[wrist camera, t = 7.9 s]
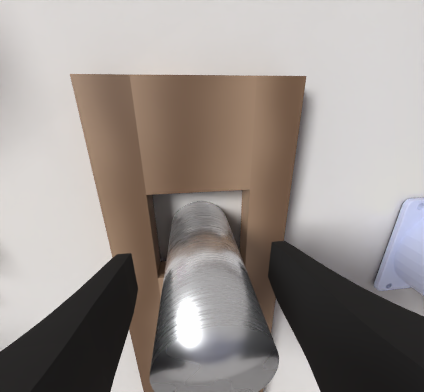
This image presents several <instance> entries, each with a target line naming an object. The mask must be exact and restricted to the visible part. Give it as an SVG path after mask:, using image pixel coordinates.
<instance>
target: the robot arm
mask: <svg viewBox="0 0 424 392" xmlns="http://www.w3.org/2000/svg"><path fill="white" fill-rule="evenodd" d="M268 278H269V281H270V284H271V287H272V289H273V292H274V294H275V297H276V299H277V301H278V303H279V305H280V307H281V309H282V311H283V313H284V315H285V317H286V319H287V321H288V323H289V325H290V326H291V328H292V330H293V332H294V334H295V336H296V338H297V340H298V342H299V344H300V346H301V348H302V350H303V352H304V354H305V356H306V358H307V360H308V362H309V365H310V367H311V370H312V372H313V374H314V377H315V379H316V382H317V384H318V386H319V389H320V391H321V392H424V317H423V316H421V315H419V314H417V313H414V312H412V311H410V310H407V309H405V308H403V307H401V306H399V305H396V304H394V303H392V302H390V301H388V300H386V299H384V298H382V297H380V296H378V295H376V294H374V293H372V292H370V291H368V290H366V289H364V288H362V287H360V286H358V285H356V284H355V283H353V282H351V281H349V280H348V279H346V278H344V277H342V276H341V275H339V274H337V273H335V272H334V271H332V270H330V269H329V268H327V267H325V266H324V265H322V264H321V263H319V262H317V261H316V260H314V259H313V258H311V257H310V256H308V255H306V254H305V253H303V252H302V251H300V250H299V249H297V248H295V247H294V246H292V245H291V244H289V243H287V242H285V241H276V242H272V244H271V253H270V261H269V270H268ZM374 287H375V288H376V289H377V290H379V291H385V290H394V289H403V288H411V287H412V288H414V289H415V290H416V291H418V292H419V293H420V294H422V295H423V296H424V198H411V199H408V200H406V201H405V202H404V203H403V205H402V207H401V210H400V213H399V216H398V219H397V221H396V224H395V227H394V230H393V232H392V235H391V238H390V241H389V243H388V246H387V249H386V252H385V254H384V257H383V260H382V263H381V265H380V268H379V271H378V274H377V277H376V279H375V282H374ZM137 293H138V285H137V280H136V275H135V270H134V264H133V259H132V254H131V253H125V254H117V255H115V256H114V257H113V258H112V259H111V260H110V261H109V262H108V263H107V264H106V265H105V266H104V267H102V268H101V269H100V270H99V271H98V272H97V273H96V274H95V275H94V276H93V277H92V278H91V279H90V280H88V281H87V282H86V283H85V284H84V285H83V286H82V287H81V288H80V289H79V290H78V291H76V292H75V293H74V294H73V295H72V296H71V297H69V298H68V299H67V300H66V301H65V302H64V303H62V304H61V305H60V306H59V307H58V308H57V309H55V310H54V311H53V312H52V313H51V314H49V315H48V316H47V317H46V318H44V319H43V320H42V321H41V322H39V323H38V324H37V325H36V326H34V327H33V328H32V329H30V330H29V331H28V332H26V333H25V334H24V335H22V336H21V337H20V338H18V339H17V340H16V341H14V342H13V343H12V344H10V345H9V346H8V347H6V348H5V349H3V350H2V351H1V352H0V392H110V391H111V387H112V384H113V380H114V376H115V373H116V370H117V366H118V363H119V360H120V357H121V353H122V350H123V347H124V344H125V340H126V337H127V334H128V331H129V327H130V324H131V321H132V317H133V314H134V309H135V304H136V299H137Z"/></svg>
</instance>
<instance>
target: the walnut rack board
mask: <svg viewBox="0 0 424 392" xmlns="http://www.w3.org/2000/svg"><path fill="white" fill-rule="evenodd" d="M70 77H71V81H72V85H73V90H74V94H75V98H76V102H77V107H78V111H79V115H80V120H81V124H82V128H83V132H84V137H85V141H86V145H87V150H88V154H89V158H90V163H91V167H92V171H93V175H94V180H95V184H96V188H97V193H98V197H99V201H100V206H101V210H102V214H103V218H104V223H105V227H106V231H107V236H108V240H109V244H110V249H111V253H112V257H114V256H115V255H117V254H125V253H131V254H132V259H133V264H134V270H135V275H136V280H137V285H138V293H137V299H136V304H135V309H134V314H133V317H132V321H131V324H130V327H129V330H130V334H131V339H132V343H133V347H134V352H135V356H136V360H137V365H138V369H139V373H140V377H141V382H142V386H143V390H144V392H154V390H153V389H152V386H151V384H150V379H149V378H150V368H151V361H152V354H153V347H154V341H155V334H156V327H157V320H158V314H159V307H160V300H161V293H162V287H163V280H164V273H165V266H166V261H165V262H161V259H160V251H159V244H158V236H157V228H156V220H155V212H154V204H153V197H152V195H153V194H173V193H192V192H211V191H231V190H242V209H241V231H240V255H241V257H242V260H243V262H244V265H245V268H246V270H247V273H248V275H249V278H250V281H251V283H252V286H253V289H254V291H255V294H256V296H257V299H258V302H259V304H260V307H261V309H262V312H263V315H264V317H265V320H266V322H267V325H268V328H269V330H270V333H271V329H272V321H273V314H274V307H275V300H276V297H275V294H274V292H273V289H272V287H271V284H270V281H269V278H268V270H269V261H270V253H271V244H272V242H276V241H284V234H285V227H286V220H287V212H288V205H289V198H290V191H291V183H292V176H293V169H294V162H295V154H296V147H297V140H298V133H299V125H300V118H301V111H302V103H303V96H304V89H305V82H306V76H226V75H112V74H70ZM258 392H263V388H262V389H261V390H260V391H258Z"/></svg>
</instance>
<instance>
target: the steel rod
mask: <svg viewBox="0 0 424 392" xmlns="http://www.w3.org/2000/svg"><path fill="white" fill-rule="evenodd" d="M278 364H279V355H278V351H277V349H276V346H275V343H274V341H273V338H272V336H271V333H270V330H269V328H268V325H267V322H266V320H265V317H264V315H263V312H262V309H261V307H260V304H259V302H258V299H257V296H256V294H255V291H254V289H253V286H252V283H251V281H250V278H249V275H248V273H247V270H246V268H245V265H244V262H243V260H242V257H241V255H240V252H239V249H238V247H237V244H236V242H235V239H234V236H233V234H232V231H231V228H230V226H229V223H228V221H227V218H226V216H225V214H224V212H223V211H222V210H221V209H220V208H219V207H218V206H216V205H214V204H212V203H210V202H205V201H197V202H192V203H189V204H187V205H185V206H183V207H182V208H181V209H179V210H178V212H177V213H176V214H175V216H174V218H173V221H172V226H171V232H170V239H169V246H168V253H167V259H166V266H165V273H164V280H163V287H162V293H161V300H160V307H159V314H158V320H157V327H156V334H155V341H154V347H153V354H152V361H151V368H150V378H149V379H150V384H151V386H152V389H153V390H154V392H258V391H260V390H261V389H262V388H264V387H265V386H266V385H267V384H268V383H269V382H270V380H271V379H272V378H273V376H274V375H275V373H276V371H277V368H278Z"/></svg>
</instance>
